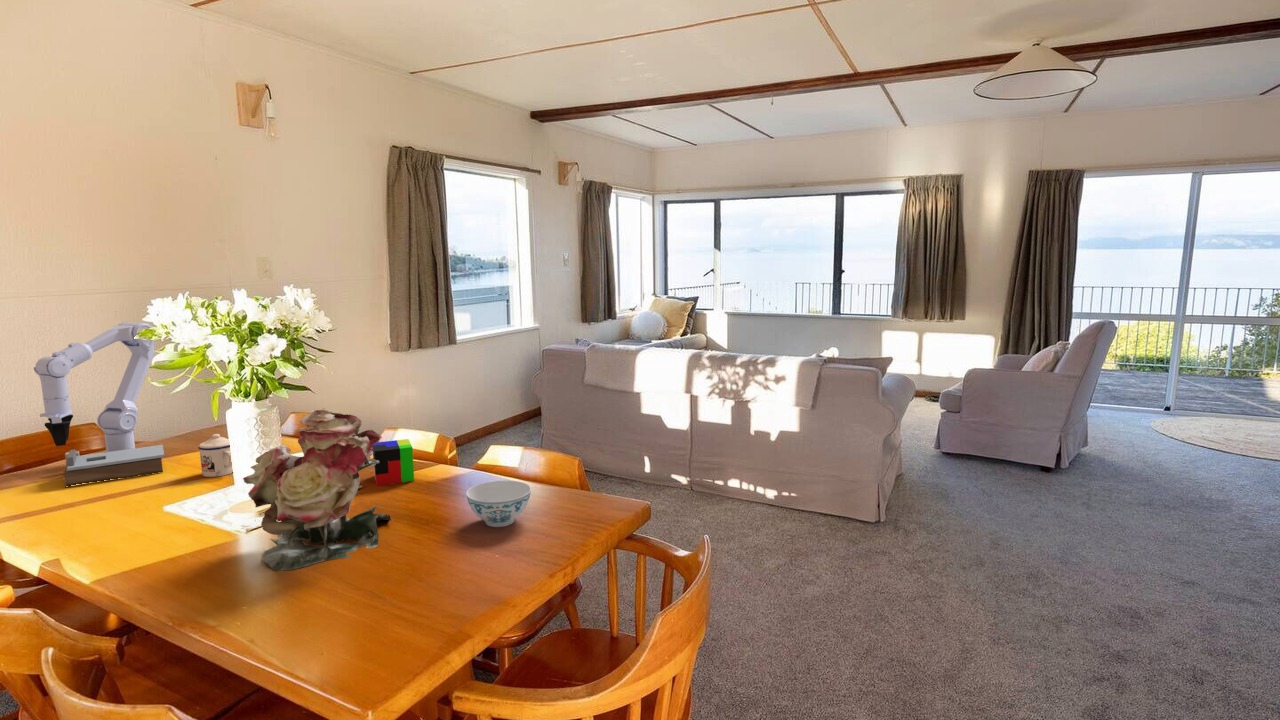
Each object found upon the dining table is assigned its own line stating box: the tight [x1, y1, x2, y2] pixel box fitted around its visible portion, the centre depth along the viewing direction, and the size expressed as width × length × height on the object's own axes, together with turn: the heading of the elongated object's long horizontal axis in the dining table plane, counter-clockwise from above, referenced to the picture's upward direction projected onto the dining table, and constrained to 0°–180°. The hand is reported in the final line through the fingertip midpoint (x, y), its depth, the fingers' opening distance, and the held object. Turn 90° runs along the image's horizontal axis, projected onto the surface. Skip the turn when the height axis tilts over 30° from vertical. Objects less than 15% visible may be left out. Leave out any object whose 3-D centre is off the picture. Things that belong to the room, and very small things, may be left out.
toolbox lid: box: [67, 444, 165, 471], centre depth 195 cm, size 14×22×3 cm, turn 127°
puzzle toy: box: [372, 438, 415, 487], centre depth 190 cm, size 10×10×10 cm
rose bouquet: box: [242, 407, 392, 572], centre depth 143 cm, size 26×29×30 cm
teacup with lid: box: [198, 433, 233, 478], centre depth 195 cm, size 12×9×12 cm
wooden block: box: [64, 450, 81, 466], centre depth 197 cm, size 3×3×6 cm
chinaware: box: [465, 480, 532, 528], centre depth 157 cm, size 15×15×8 cm
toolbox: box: [63, 458, 164, 487], centre depth 195 cm, size 14×22×4 cm, turn 127°
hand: (62, 442), depth 195 cm, fingers open, 7 cm apart
